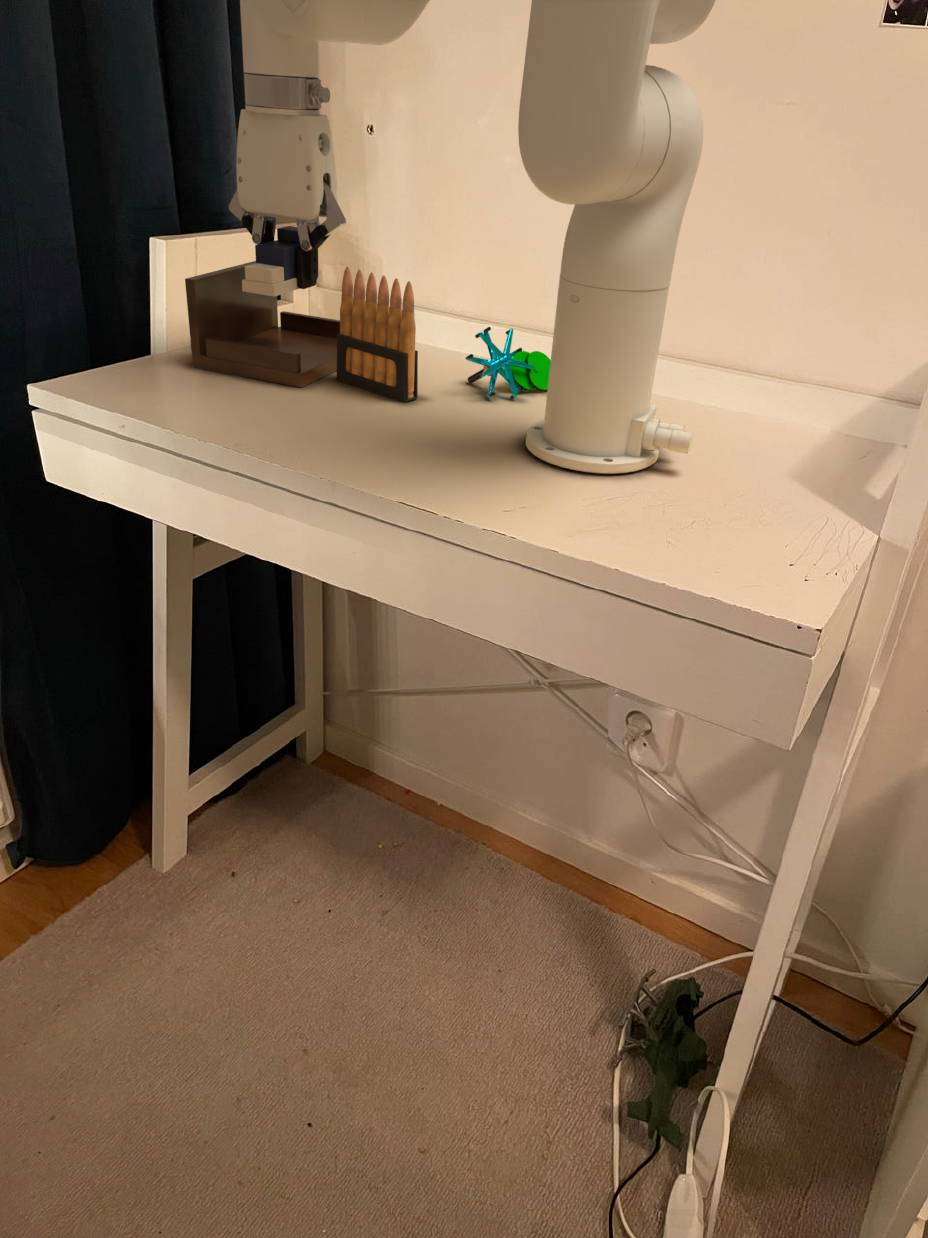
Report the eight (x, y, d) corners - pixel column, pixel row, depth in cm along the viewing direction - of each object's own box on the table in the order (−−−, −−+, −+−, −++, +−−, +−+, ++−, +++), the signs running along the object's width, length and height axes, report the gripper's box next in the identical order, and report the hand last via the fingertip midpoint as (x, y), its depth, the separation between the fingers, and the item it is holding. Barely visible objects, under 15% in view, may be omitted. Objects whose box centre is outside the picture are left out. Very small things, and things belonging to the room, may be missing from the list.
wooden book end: (270, 337, 117) (266, 257, 112) (369, 354, 113) (370, 272, 108) (192, 366, 104) (184, 278, 99) (301, 387, 100) (298, 296, 95)
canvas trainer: (291, 276, 108) (290, 224, 105) (321, 281, 107) (321, 229, 104) (242, 291, 100) (239, 235, 97) (274, 296, 99) (272, 240, 96)
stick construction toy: (482, 385, 97) (477, 314, 98) (443, 407, 102) (438, 339, 103) (566, 404, 104) (560, 338, 105) (525, 423, 109) (520, 360, 110)
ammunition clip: (418, 399, 99) (422, 281, 93) (406, 402, 98) (409, 283, 92) (347, 376, 105) (347, 264, 99) (335, 379, 103) (334, 265, 97)
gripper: (372, 102, 95) (370, 288, 105) (234, 90, 100) (244, 268, 109) (337, 103, 89) (338, 300, 98) (191, 90, 94) (205, 279, 103)
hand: (288, 281), depth 104 cm, fingers closed on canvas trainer, 4 cm apart
